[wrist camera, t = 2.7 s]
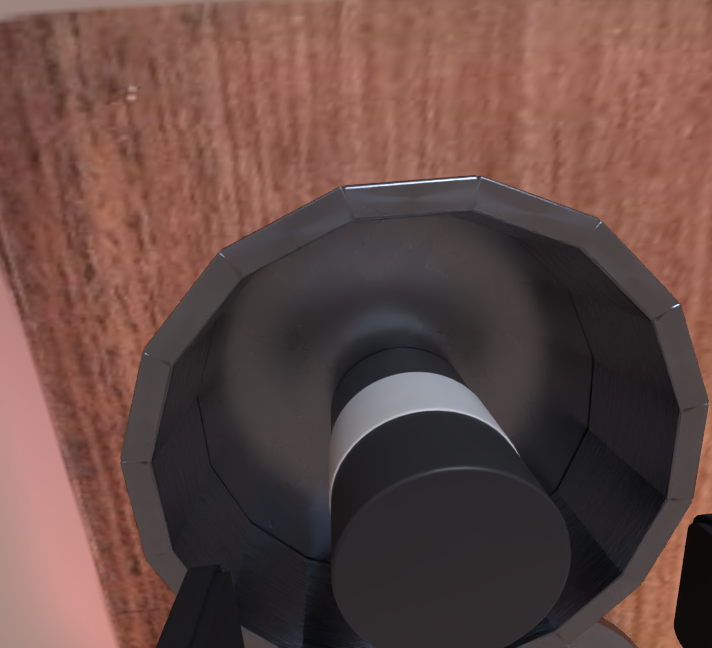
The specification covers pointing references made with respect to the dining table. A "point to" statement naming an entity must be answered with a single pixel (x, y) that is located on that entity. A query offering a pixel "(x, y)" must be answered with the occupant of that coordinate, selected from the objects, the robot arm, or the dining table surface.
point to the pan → (428, 333)
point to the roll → (435, 512)
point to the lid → (602, 637)
